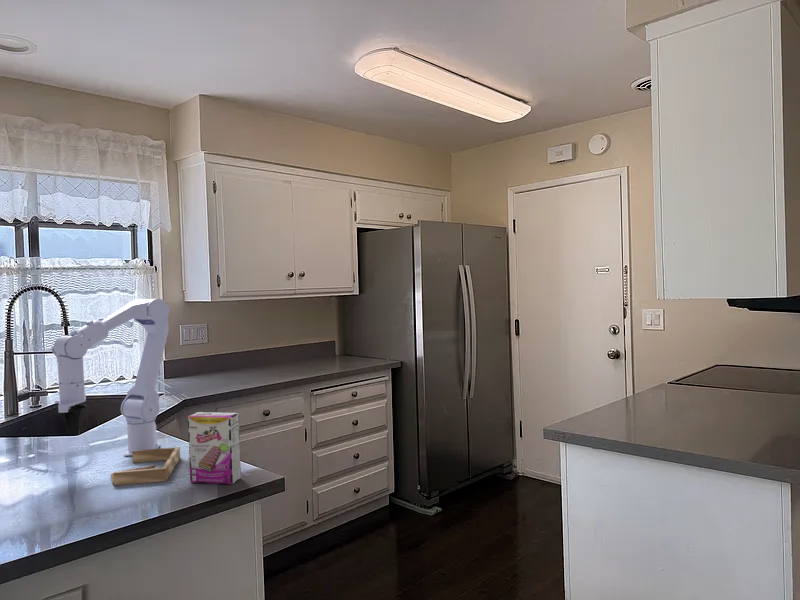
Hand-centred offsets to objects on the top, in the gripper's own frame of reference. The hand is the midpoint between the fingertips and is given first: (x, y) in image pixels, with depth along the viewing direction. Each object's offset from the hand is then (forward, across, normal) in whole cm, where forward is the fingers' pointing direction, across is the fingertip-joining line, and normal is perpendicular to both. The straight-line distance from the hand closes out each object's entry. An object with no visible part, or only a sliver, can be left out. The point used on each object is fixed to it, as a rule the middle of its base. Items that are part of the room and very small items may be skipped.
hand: (74, 434), depth 153 cm
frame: (+10, +4, +19) cm, 22 cm away
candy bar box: (+10, +18, +36) cm, 42 cm away
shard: (+11, +7, +14) cm, 19 cm away
